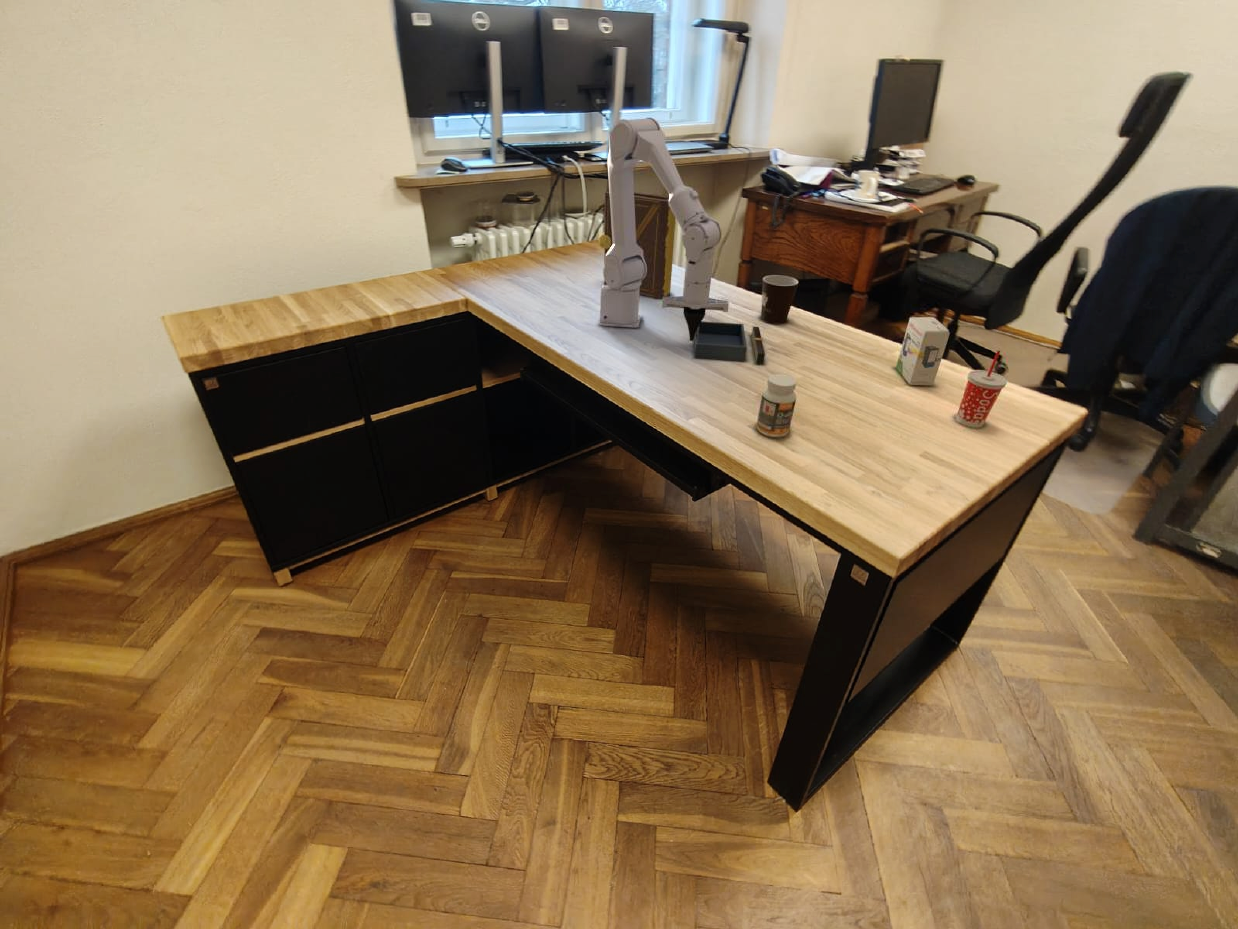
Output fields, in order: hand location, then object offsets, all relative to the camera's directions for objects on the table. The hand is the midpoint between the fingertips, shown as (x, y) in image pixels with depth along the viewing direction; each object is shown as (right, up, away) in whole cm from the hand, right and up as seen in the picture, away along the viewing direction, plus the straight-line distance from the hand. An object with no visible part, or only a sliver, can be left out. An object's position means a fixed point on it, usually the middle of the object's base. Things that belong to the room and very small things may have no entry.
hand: (691, 339), depth 134 cm
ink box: (+46, -10, -10) cm, 48 cm away
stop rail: (+15, -2, 0) cm, 15 cm away
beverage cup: (+48, -21, -26) cm, 59 cm away
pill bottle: (+11, -23, -30) cm, 39 cm away
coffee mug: (+23, +9, +17) cm, 30 cm away
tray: (+6, -2, 0) cm, 7 cm away
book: (-13, +21, +33) cm, 42 cm away
